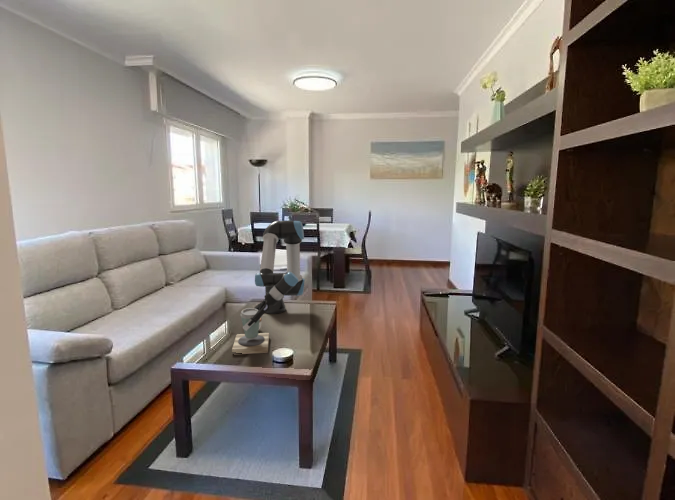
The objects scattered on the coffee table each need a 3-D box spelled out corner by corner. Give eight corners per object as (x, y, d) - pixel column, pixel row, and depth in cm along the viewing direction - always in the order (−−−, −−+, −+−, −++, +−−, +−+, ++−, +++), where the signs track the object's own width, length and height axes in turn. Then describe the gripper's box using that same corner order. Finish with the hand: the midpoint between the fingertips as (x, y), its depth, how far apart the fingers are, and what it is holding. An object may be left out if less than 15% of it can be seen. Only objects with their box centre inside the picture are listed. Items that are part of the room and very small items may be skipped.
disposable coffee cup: (264, 334, 198) (264, 308, 195) (255, 342, 188) (254, 315, 185) (247, 331, 201) (246, 306, 198) (237, 339, 191) (236, 313, 188)
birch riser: (236, 339, 203) (236, 333, 203) (269, 337, 206) (268, 332, 205) (232, 354, 186) (232, 348, 185) (267, 352, 188) (267, 346, 188)
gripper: (279, 308, 182) (248, 338, 183) (279, 293, 204) (252, 320, 205) (268, 298, 180) (237, 329, 181) (269, 285, 202) (242, 312, 203)
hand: (245, 324), depth 193 cm, fingers closed on disposable coffee cup, 11 cm apart
